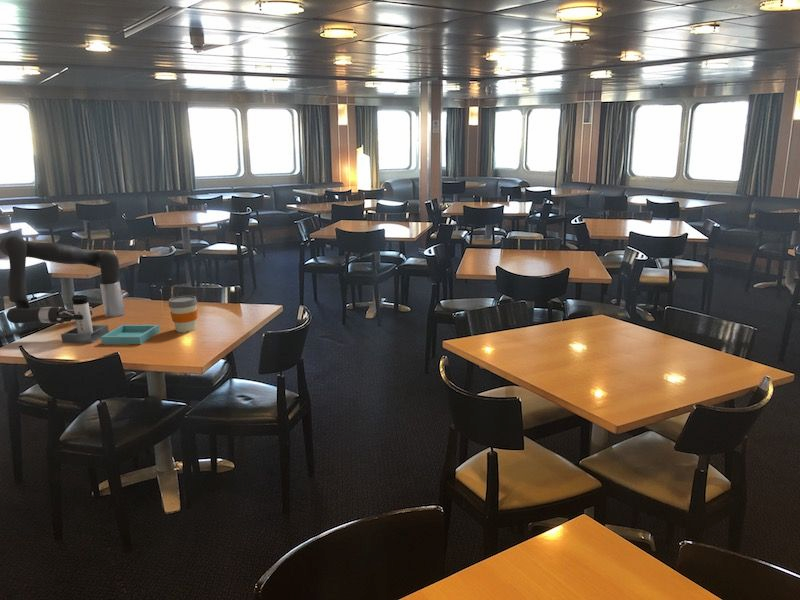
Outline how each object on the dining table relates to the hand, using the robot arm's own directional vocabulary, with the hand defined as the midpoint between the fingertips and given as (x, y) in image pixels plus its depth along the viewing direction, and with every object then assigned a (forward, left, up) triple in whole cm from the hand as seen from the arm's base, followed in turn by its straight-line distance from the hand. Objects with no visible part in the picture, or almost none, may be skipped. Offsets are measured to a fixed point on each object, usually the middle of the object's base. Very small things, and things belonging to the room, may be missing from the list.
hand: (87, 315), depth 280 cm
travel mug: (0, -2, -11) cm, 11 cm away
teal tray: (0, +20, -11) cm, 23 cm away
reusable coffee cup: (-13, +40, -11) cm, 43 cm away
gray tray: (0, -2, -11) cm, 11 cm away
